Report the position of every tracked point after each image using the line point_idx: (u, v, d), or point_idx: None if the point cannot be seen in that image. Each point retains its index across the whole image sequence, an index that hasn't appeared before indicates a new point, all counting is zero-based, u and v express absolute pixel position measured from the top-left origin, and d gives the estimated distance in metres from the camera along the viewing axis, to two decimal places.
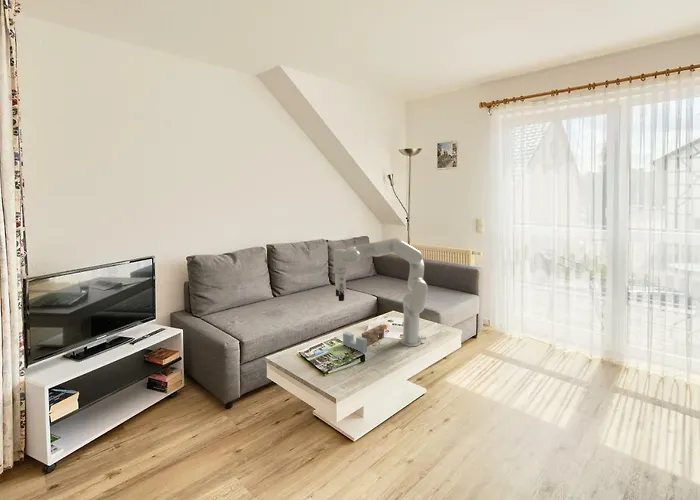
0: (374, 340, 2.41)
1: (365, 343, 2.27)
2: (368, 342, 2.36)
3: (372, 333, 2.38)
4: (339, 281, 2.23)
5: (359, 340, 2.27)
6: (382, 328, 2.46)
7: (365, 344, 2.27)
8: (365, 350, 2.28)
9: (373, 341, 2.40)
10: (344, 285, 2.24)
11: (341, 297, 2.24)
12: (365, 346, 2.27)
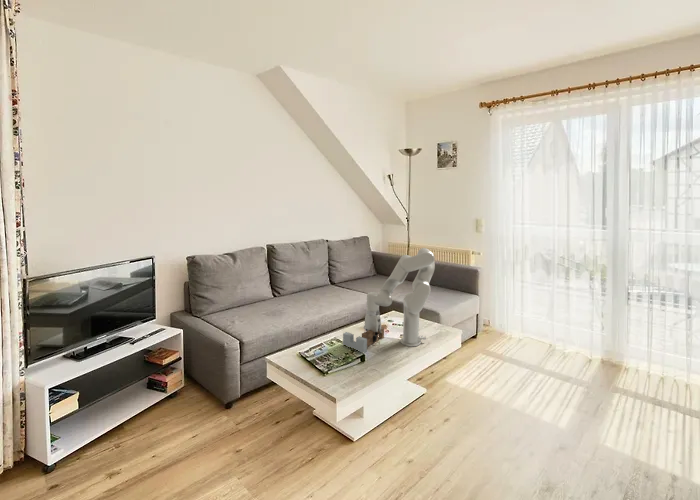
0: None
1: (365, 343, 2.27)
2: (368, 342, 2.36)
3: (372, 333, 2.38)
4: (377, 323, 2.36)
5: (359, 340, 2.27)
6: (382, 328, 2.46)
7: (365, 344, 2.27)
8: (365, 350, 2.28)
9: None
10: (380, 325, 2.38)
11: (375, 338, 2.40)
12: (365, 346, 2.27)
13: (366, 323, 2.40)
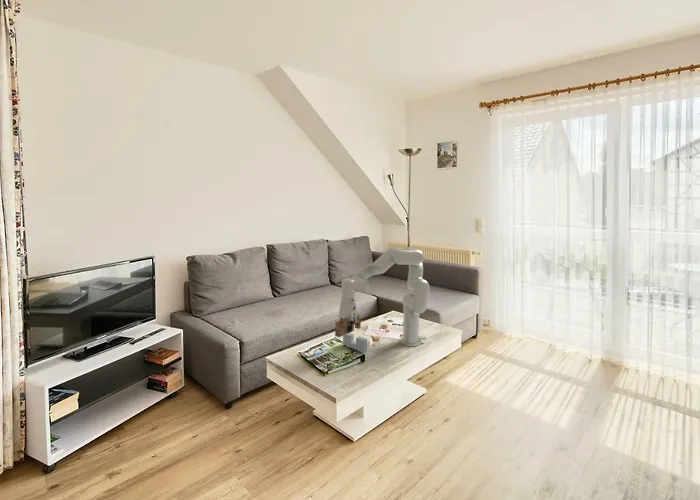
0: None
1: (365, 343, 2.27)
2: (342, 331, 2.20)
3: (347, 322, 2.22)
4: (352, 311, 2.19)
5: (359, 340, 2.27)
6: (358, 317, 2.30)
7: (365, 344, 2.27)
8: (365, 350, 2.28)
9: None
10: (356, 314, 2.22)
11: (351, 328, 2.23)
12: (365, 346, 2.27)
13: (341, 311, 2.24)
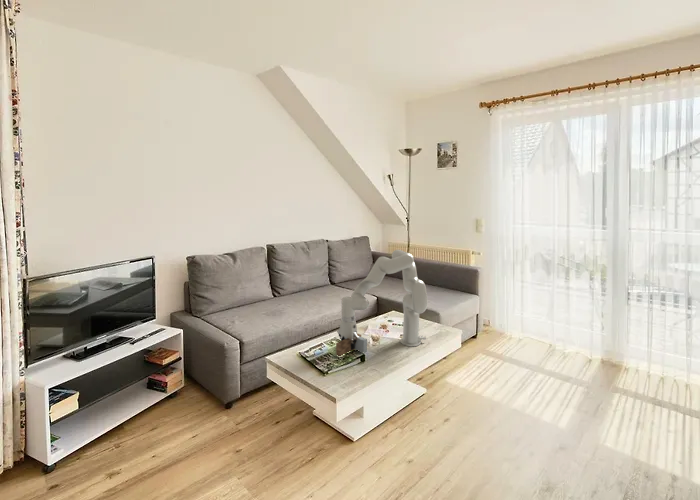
0: (350, 350, 2.27)
1: (365, 343, 2.27)
2: (343, 352, 2.22)
3: (347, 343, 2.25)
4: (353, 329, 2.21)
5: (359, 340, 2.27)
6: None
7: (365, 344, 2.27)
8: (365, 350, 2.28)
9: None
10: (356, 332, 2.24)
11: (354, 345, 2.24)
12: (365, 346, 2.27)
13: (341, 329, 2.26)
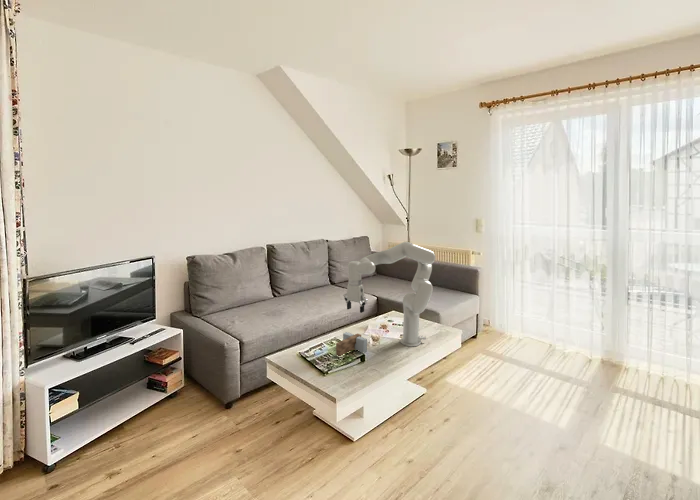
0: (350, 350, 2.27)
1: (365, 343, 2.27)
2: (343, 352, 2.22)
3: (348, 343, 2.25)
4: (360, 293, 2.23)
5: (359, 340, 2.27)
6: None
7: (365, 344, 2.27)
8: (365, 350, 2.28)
9: None
10: (363, 296, 2.26)
11: (363, 308, 2.25)
12: (365, 346, 2.27)
13: (348, 294, 2.27)
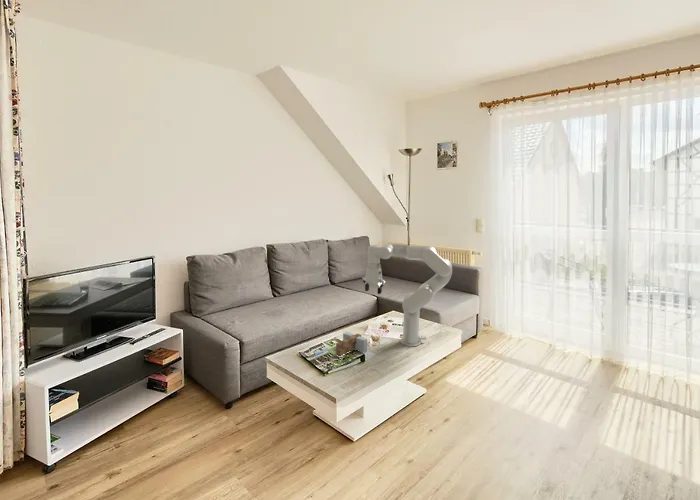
0: (350, 350, 2.27)
1: (365, 343, 2.27)
2: (343, 352, 2.22)
3: (348, 343, 2.25)
4: (378, 275, 2.37)
5: (359, 340, 2.27)
6: None
7: (365, 344, 2.27)
8: (365, 350, 2.28)
9: None
10: (381, 278, 2.40)
11: (380, 290, 2.39)
12: (365, 346, 2.27)
13: (367, 276, 2.41)
